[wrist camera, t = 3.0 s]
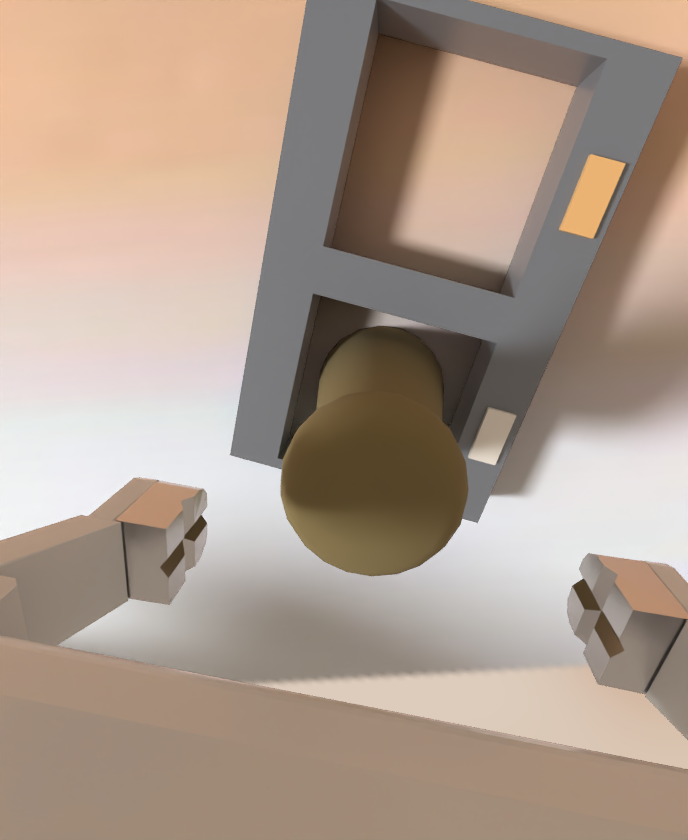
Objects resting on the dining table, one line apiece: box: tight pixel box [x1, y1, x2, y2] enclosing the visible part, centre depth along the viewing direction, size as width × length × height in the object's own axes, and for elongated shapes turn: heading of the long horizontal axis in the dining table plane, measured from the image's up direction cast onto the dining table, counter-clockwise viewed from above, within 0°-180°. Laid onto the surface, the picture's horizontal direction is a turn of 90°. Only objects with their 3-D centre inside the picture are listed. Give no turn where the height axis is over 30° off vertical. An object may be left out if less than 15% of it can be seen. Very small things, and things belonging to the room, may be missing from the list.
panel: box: [230, 0, 682, 523], centre depth 18 cm, size 18×12×3 cm, turn 166°
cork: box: [281, 326, 469, 576], centre depth 16 cm, size 6×6×11 cm
